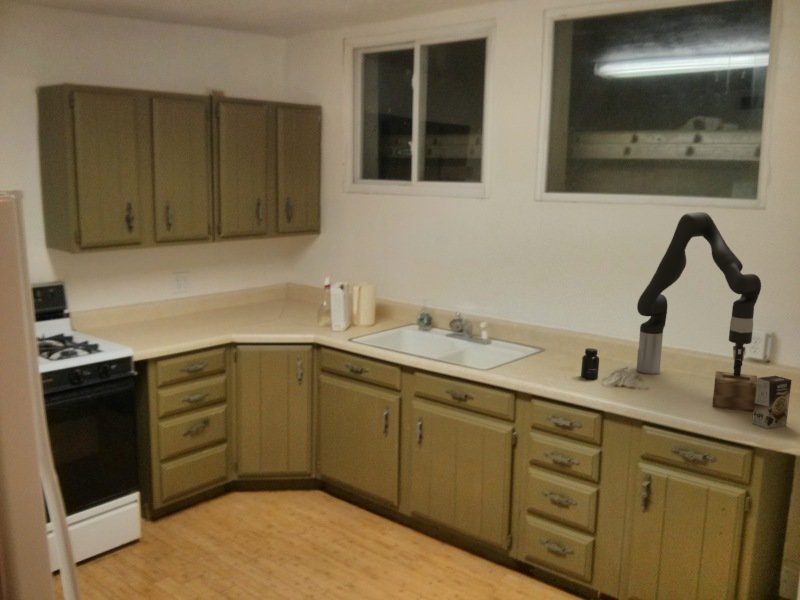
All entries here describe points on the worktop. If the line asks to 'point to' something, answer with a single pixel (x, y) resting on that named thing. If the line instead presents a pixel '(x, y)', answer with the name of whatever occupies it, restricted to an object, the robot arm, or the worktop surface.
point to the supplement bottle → (590, 364)
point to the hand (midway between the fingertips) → (736, 372)
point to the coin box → (735, 391)
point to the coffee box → (772, 401)
